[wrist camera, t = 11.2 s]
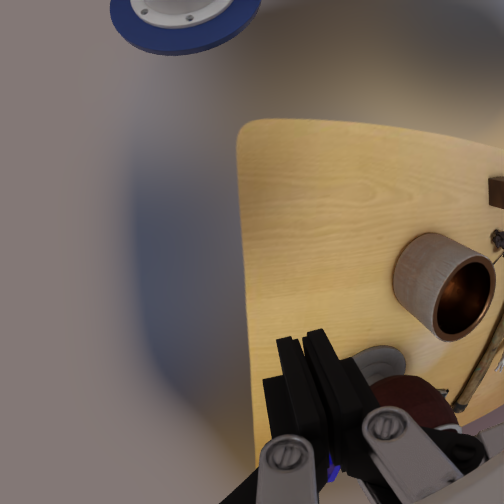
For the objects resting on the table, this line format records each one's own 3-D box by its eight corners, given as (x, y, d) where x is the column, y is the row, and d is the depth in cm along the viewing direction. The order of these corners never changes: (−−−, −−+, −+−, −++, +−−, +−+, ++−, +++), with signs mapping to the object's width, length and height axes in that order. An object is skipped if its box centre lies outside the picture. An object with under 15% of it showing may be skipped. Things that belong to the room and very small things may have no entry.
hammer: (440, 409, 46) (446, 417, 43) (513, 245, 36) (523, 249, 33) (473, 401, 47) (479, 407, 45) (539, 254, 37) (547, 258, 35)
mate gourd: (337, 343, 38) (400, 461, 19) (419, 337, 39) (495, 423, 20) (315, 420, 42) (348, 523, 23) (389, 409, 43) (436, 494, 24)
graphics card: (442, 400, 45) (449, 388, 44) (443, 402, 44) (451, 390, 43) (416, 402, 44) (424, 390, 43) (418, 405, 43) (426, 392, 42)
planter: (385, 312, 37) (421, 351, 28) (395, 232, 34) (441, 257, 25) (444, 302, 38) (483, 332, 28) (456, 230, 34) (504, 250, 25)
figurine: (488, 269, 37) (474, 250, 38) (514, 239, 35) (501, 221, 37) (500, 264, 32) (485, 242, 34) (527, 230, 31) (513, 210, 32)
